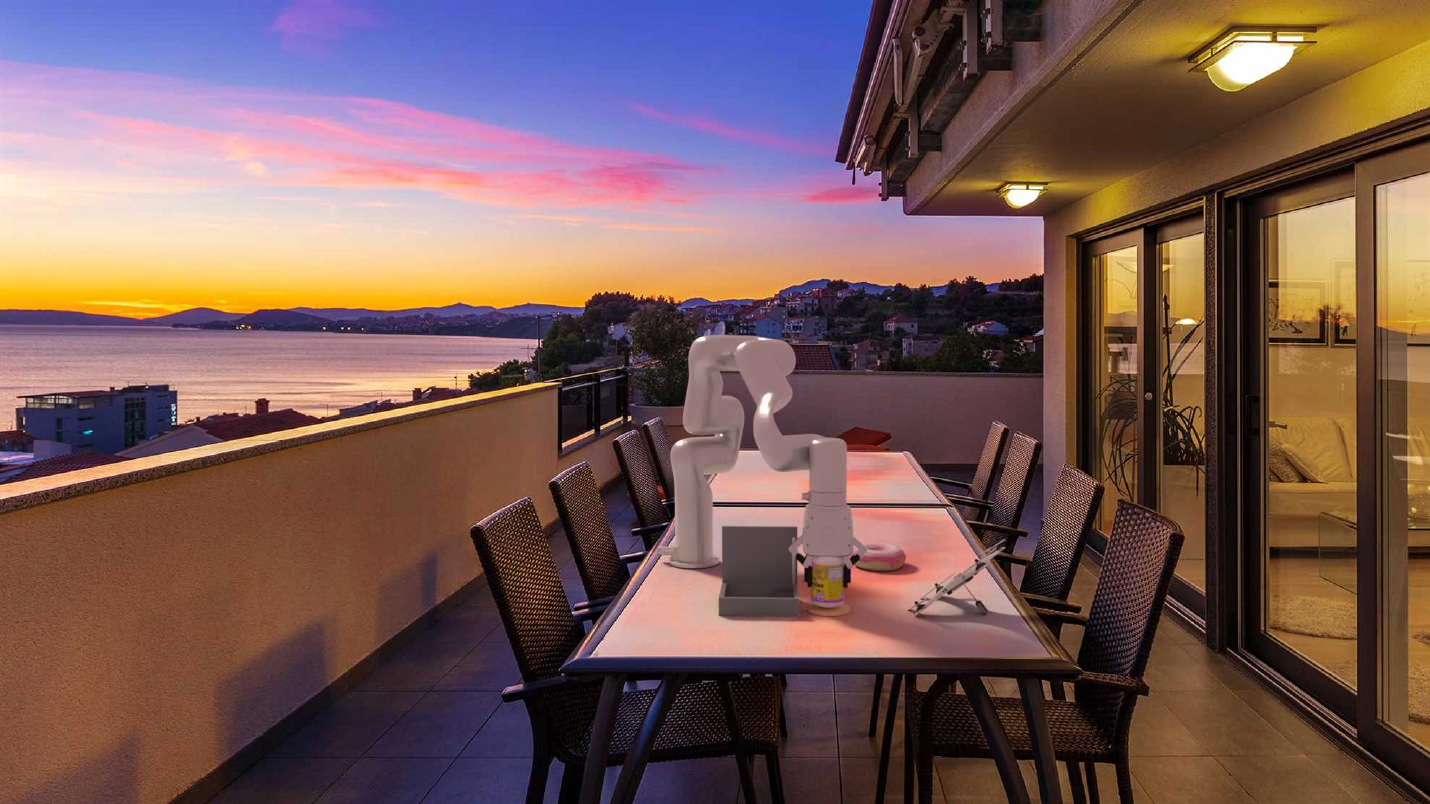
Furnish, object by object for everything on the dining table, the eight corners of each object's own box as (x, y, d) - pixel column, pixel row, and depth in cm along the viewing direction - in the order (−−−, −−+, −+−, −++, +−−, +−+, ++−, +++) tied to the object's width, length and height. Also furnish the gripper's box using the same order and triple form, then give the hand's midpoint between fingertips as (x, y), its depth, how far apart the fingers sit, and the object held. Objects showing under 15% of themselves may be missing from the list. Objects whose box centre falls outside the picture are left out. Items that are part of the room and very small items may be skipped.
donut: (849, 572, 200) (849, 551, 200) (850, 559, 214) (850, 540, 213) (906, 574, 198) (906, 553, 198) (904, 561, 211) (904, 541, 211)
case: (718, 615, 166) (718, 538, 165) (722, 597, 179) (722, 525, 178) (799, 616, 165) (799, 539, 164) (797, 598, 178) (797, 526, 177)
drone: (1041, 570, 171) (1009, 530, 174) (1022, 597, 151) (986, 552, 154) (956, 627, 180) (926, 588, 183) (927, 660, 161) (895, 616, 163)
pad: (806, 616, 165) (806, 614, 165) (804, 603, 174) (804, 601, 174) (852, 616, 165) (852, 614, 165) (848, 603, 174) (848, 601, 174)
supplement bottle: (805, 600, 171) (805, 539, 171) (833, 597, 174) (833, 536, 173) (820, 610, 165) (820, 546, 165) (849, 606, 168) (850, 543, 167)
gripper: (785, 501, 165) (784, 590, 166) (873, 502, 164) (872, 592, 165) (784, 495, 173) (784, 580, 174) (868, 496, 172) (868, 582, 173)
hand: (827, 585), depth 169 cm, fingers closed on supplement bottle, 6 cm apart
